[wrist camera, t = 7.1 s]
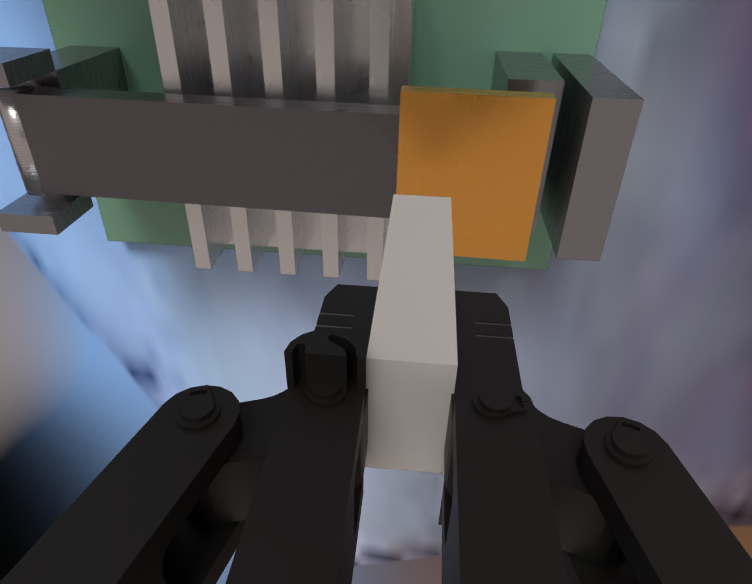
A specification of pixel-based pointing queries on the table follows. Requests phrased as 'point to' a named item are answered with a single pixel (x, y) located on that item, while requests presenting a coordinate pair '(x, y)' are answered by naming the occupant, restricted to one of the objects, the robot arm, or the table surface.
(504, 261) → the board
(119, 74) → the forked tab bracket
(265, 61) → the heatsink
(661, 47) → the table surface
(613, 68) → the table surface
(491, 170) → the strap
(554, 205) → the lug
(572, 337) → the table surface
